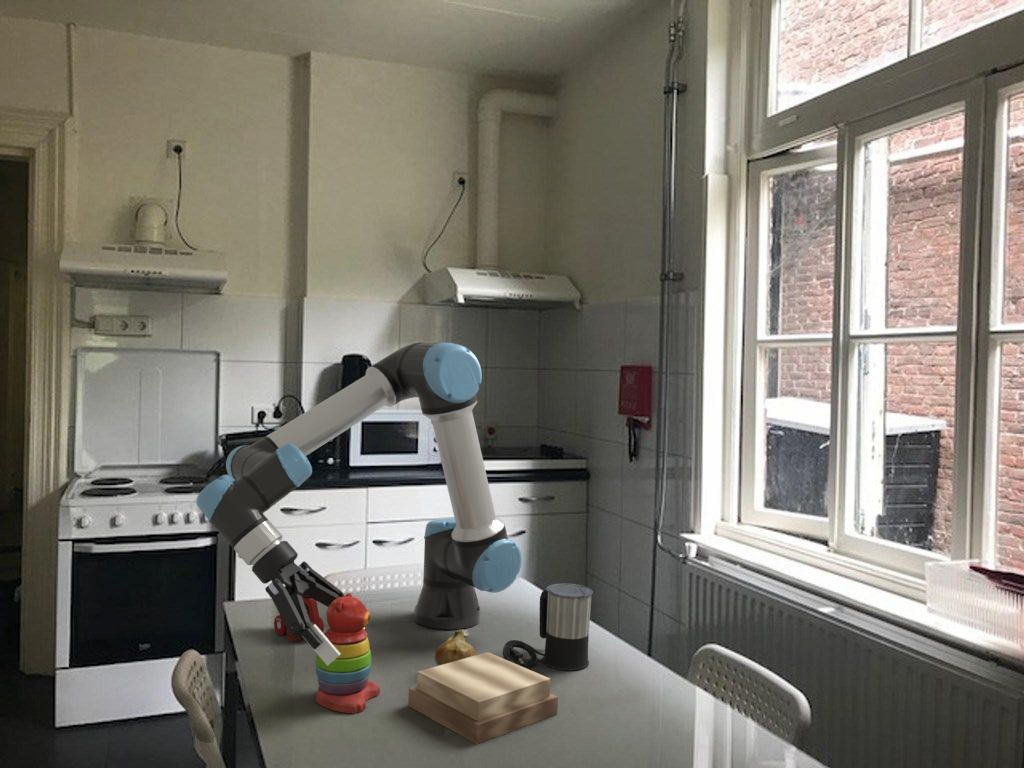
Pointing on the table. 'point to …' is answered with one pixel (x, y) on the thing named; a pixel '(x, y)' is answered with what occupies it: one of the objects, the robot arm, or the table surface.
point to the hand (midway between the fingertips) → (347, 646)
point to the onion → (454, 648)
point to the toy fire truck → (312, 613)
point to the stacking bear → (346, 659)
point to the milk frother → (559, 629)
